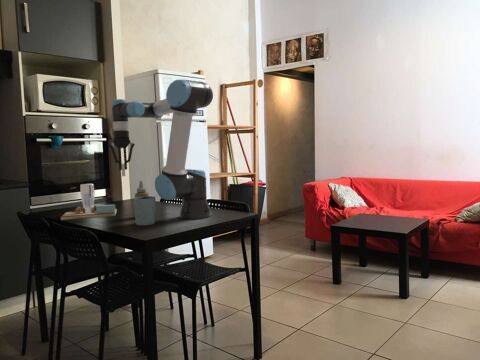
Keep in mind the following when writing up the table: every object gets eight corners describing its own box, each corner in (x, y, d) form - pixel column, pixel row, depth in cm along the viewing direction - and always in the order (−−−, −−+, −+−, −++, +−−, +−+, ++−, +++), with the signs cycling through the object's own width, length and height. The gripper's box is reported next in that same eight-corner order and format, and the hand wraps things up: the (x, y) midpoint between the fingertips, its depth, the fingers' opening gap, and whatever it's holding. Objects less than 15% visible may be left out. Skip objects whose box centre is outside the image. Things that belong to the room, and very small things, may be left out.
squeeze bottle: (147, 218, 206) (145, 181, 205) (131, 218, 208) (129, 182, 206) (153, 215, 214) (151, 180, 213) (139, 215, 216) (137, 180, 214)
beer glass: (98, 211, 226) (96, 183, 225) (90, 213, 220) (88, 184, 218) (87, 211, 228) (85, 183, 227) (79, 213, 222) (77, 185, 220)
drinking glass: (134, 226, 188) (133, 199, 186) (133, 222, 197) (132, 196, 196) (157, 224, 190) (156, 197, 189) (155, 220, 200) (154, 195, 199)
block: (114, 212, 218) (114, 205, 218) (96, 214, 216) (96, 206, 216) (115, 212, 220) (114, 204, 220) (97, 213, 218) (96, 205, 217)
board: (114, 216, 217) (114, 208, 216) (60, 220, 211) (60, 212, 210) (116, 211, 233) (116, 204, 233) (66, 214, 227) (66, 207, 227)
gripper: (134, 130, 221) (136, 174, 224) (108, 130, 218) (111, 176, 221) (134, 129, 214) (136, 176, 216) (107, 130, 211) (110, 177, 213)
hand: (123, 176), depth 219 cm, fingers closed
